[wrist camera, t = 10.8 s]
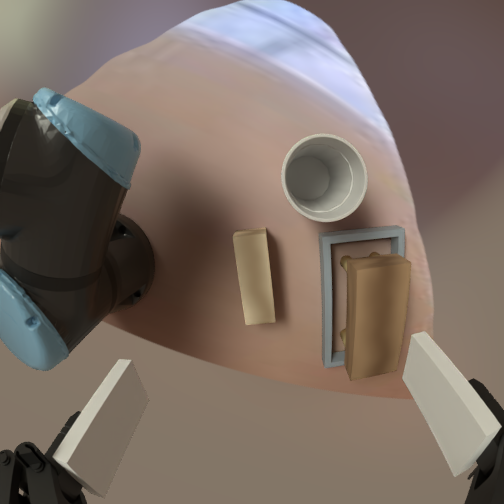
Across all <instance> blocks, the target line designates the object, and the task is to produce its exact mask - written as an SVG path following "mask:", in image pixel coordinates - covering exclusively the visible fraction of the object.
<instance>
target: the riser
mask: <svg viewBox="0 0 504 504" xmlns="http://www.w3.org/2000/svg"><path fill="white" fill-rule="evenodd" d="M233 244H234V251H235V258H236V265H237V271H238V278H239V285H240V292H241V298H242V305H243V311H244V318H245V324H246V325H251V324H263V323H273V322H275V308H274V298H273V288H272V279H271V270H270V261H269V252H268V243H267V234H266V228H257V229H248V230H239V231H236V232H235V234H234V235H233Z"/></svg>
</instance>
